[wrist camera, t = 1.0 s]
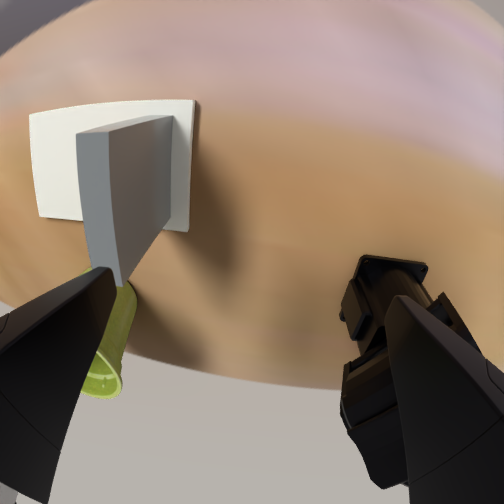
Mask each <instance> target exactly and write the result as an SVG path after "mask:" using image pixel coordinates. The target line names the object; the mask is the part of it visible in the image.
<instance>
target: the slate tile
mask: <svg viewBox="0 0 504 504" xmlns="http://www.w3.org/2000/svg"><path fill="white" fill-rule="evenodd" d="M172 128H173V115H148V116H143V117H138V118H134V119H129V120H125V121H120V122H116V123H112V124H108V125H104V126H101V127H97V128H93V129H90V130H86V131H83V132H80V133H76V156H77V171H78V183H79V193H80V202H81V209H82V217H83V223H84V230H85V236H86V241H87V247H88V252H89V257H90V262H91V267H92V269H94V268H97V267H99V266H102V267H109V268H111V269H112V271H113V274H114V279H115V283H116V286H120V287H123V286H124V285H125V283H126V281H127V280H128V278H129V277H130V275H131V274H132V272H133V271H134V269H135V268H136V266H137V265H138V263H139V262H140V260H141V259H142V257H143V256H144V254H145V253H146V251H147V250H148V248H149V247H150V246H151V244H152V243H153V241H154V240H155V238H156V237H157V236H158V234H159V233H160V231H161V230H162V229H163V227H164V226H165V224H166V223H167V222H168V220H169V219H170V218H171V149H172Z"/></svg>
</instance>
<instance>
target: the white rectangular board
mask: <svg viewBox="0 0 504 504" xmlns="http://www.w3.org/2000/svg"><path fill="white" fill-rule="evenodd" d="M194 111H195V100H138V101H121V102H108V103H98V104H89V105H81V106H73V107H66V108H60V109H54V110H49V111H43V112H38V113H33V114H29V120H30V145H31V159H32V169H33V178H34V185H35V192H36V199H37V205H38V211H39V216H40V217H48V218H59V219H69V220H79V221H83V217H82V209H81V202H80V193H79V183H78V171H77V156H76V133H80V132H83V131H86V130H90V129H93V128H97V127H101V126H104V125H108V124H112V123H116V122H120V121H125V120H129V119H134V118H138V117H143V116H148V115H173V128H172V149H171V218H170V219H169V220H168V222H167V223H166V224H165V226H164V227H163V229H165V230H174V231H182V232H187V231H188V230H189V209H190V178H191V156H192V139H193V124H194Z"/></svg>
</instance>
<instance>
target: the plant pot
mask: <svg viewBox="0 0 504 504" xmlns="http://www.w3.org/2000/svg"><path fill="white" fill-rule="evenodd" d="M90 270H92V267H90V268H88V269H87V270H85V271H84V272H83V273H82V274H84V273H86V272H88V271H90ZM82 274H80V275H82ZM80 275H79V276H80ZM116 288H117V297H116V300H115V303H114V306H113V309H112V311H111V314H110V317H109V320H108V323H107V326H106V330H105V332H104V335H103V338H102V340H101V343H100V345H99V348H98V350H97V352H96V355H95V357H94V359H93V362H92V364H91V367H90V369H89V372H88V374H87V377H86V379H85V382H84V384H83V387H82V389H81V392H80V393H83V394H85V395H88V396H91V397H95V398H100V399H111V398H114V397H116V396H117V395H119V394H120V392H121V389H122V379H121V376H120V374H121V368H122V365H121V360H122V356H123V352H124V349H125V345H126V341H127V338H128V335H129V331H130V328H131V325H132V321H133V318H134V315H135V312H136V308H137V298H136V295H135V292H134V290H133V288H132V287H131V286H130V284H129V283H128V282H127V281H126V283H125V285H124V286H123V287H120V286H116Z"/></svg>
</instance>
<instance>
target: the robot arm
mask: <svg viewBox="0 0 504 504" xmlns="http://www.w3.org/2000/svg"><path fill="white" fill-rule="evenodd" d="M366 260H368V261H367V262H366V263H364V261H366ZM422 268H423V269H422ZM421 269H422V270H421ZM427 271H428V266H427V265H426V264H425V263H424V262H417V261H410V260H402V259H395V258H388V257H380V256H373V255H363V256H361V257H360V259H359V262H358V265H357V267H356V270H355V273H354V276H353V278H352V279H351V280H350V281H349V284H348V286H347V289H346V292H345V295H344V297H343V300H342V303H341V306H342V309H341V311H340V314H339V317H340V320H341V321H344V322H346V324H347V327H348V331H349V335H350V338H351V339H352V341H357V344H358V348H359V351H360V355H361V356H360V357H358V358H357V359H355V360H354V361H352V362H351V361H350V362H348V363H347V364H345V365H344V371H343V382H342V392H341V401H340V416H341V418H342V420H343V423H344V425H345V427H346V429H347V434H348V435H349V436H350V438H351V439H352V440H353V441H354V443H355V444H356V446H357V448H358V449H359V451H360V453H361V455H362V457H363V460H364V462H365V465H366V468H367V471H368V474H369V477H370V479H371V480H372V481H373V482H374V483H375V484H376V485H377V486H378V487H380V488H381V489H387V488H390V487H393V486H395V485H398V484H403V485H404V486H407V487H409V498H410V504H504V373H503V372H502V371H501V370H499V369H498V368H497V367H496V366H495V365H493V364H492V363H491V362H490V361H489V360H488V359H485V357H484V356H483V355H482V353H481V351H480V349H479V347H478V346H477V344H476V342H475V340H474V339H473V337H472V335H471V333H470V332H469V330H468V328H467V327H466V325H465V324H464V322H463V320H462V319H461V317H460V316H459V314H458V313H457V311H456V309H455V308H454V306H453V305H452V303H451V302H450V300H449V299H448V298H447V296H446V295H445V293H444V292H442V293H441V294H440V295H439V296H438V298H437V299H436V300H435V301H434V302H433V300H432V298H431V297H430V295H429V294H428V292H427V291H426V289H425V287H424V286H423V284H422V282H423V280H424V278H425V276H426V274H427ZM116 297H117V288H116V283H115V279H114V274H113V271H112V269H111V268H109V267H102V266H99V267H97V268H94V269H92V270H90V271H88V272H86V273H84V274H82V275H80V276H78V277H76V278H74V279H72V280H70V281H68V282H66V283H64V284H62V285H60V286H58V287H56V288H54V289H52V290H50V291H48V292H47V293H45V294H43V295H41V296H39V297H37V298H35V299H33V300H31V301H29V302H28V303H26V304H24V305H22V306H20V307H18V308H17V309H15V310H13V311H11V312H10V313H7V314H6V315H4V316H2V317H0V504H16V498H17V495H18V492H19V493H21V494H23V495H25V496H27V497H29V498H32V499H34V500H36V501H38V502H41V503H42V504H48V501H49V497H50V492H51V487H52V483H53V479H54V475H55V471H56V467H57V463H58V460H59V456H60V453H61V452H60V451H61V449H62V446H63V442H64V439H65V436H66V433H67V429H68V426H69V423H70V420H71V417H72V414H73V412H74V409H75V406H76V403H77V400H78V398H79V395H80V392H81V389H82V387H83V384H84V382H85V379H86V377H87V374H88V372H89V369H90V367H91V364H92V362H93V359H94V357H95V355H96V352H97V350H98V348H99V345H100V343H101V340H102V338H103V335H104V332H105V330H106V326H107V323H108V320H109V317H110V314H111V311H112V309H113V306H114V303H115V300H116Z"/></svg>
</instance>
